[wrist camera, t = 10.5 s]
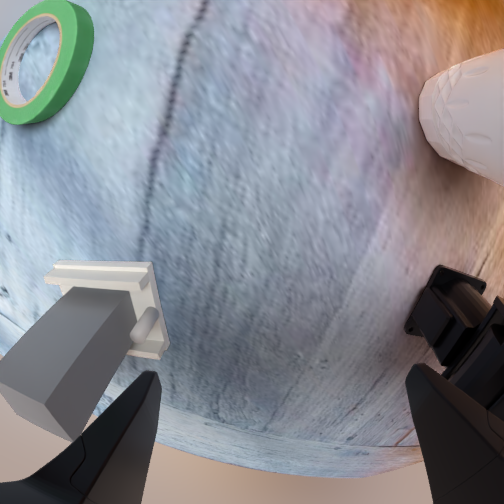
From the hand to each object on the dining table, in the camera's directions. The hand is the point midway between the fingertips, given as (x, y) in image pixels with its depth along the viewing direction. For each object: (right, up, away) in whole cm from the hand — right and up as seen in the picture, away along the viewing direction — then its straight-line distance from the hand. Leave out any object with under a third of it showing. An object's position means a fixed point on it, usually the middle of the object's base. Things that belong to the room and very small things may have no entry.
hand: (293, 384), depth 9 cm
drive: (-14, -1, +13) cm, 19 cm away
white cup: (+13, +14, +6) cm, 20 cm away
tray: (-14, 0, +14) cm, 20 cm away
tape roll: (-18, +20, +7) cm, 28 cm away
